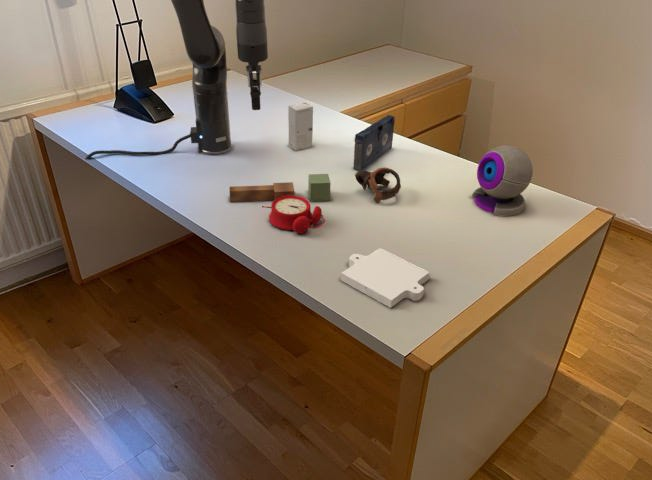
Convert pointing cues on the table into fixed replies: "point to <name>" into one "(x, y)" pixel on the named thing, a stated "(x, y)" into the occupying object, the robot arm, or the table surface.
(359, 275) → the mounting plate
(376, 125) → the vhs cassette tape
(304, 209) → the alarm clock
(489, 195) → the webcam
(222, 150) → the robot arm
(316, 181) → the block
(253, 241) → the table surface
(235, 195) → the wooden stamp
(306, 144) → the cosmetic box
